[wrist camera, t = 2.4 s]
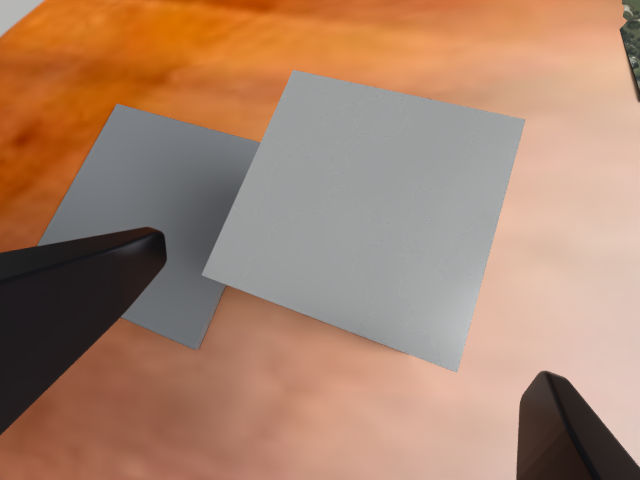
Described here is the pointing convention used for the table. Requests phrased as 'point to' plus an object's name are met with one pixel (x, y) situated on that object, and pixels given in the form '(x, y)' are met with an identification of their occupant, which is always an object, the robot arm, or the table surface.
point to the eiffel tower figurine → (632, 34)
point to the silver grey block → (371, 213)
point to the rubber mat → (160, 208)
